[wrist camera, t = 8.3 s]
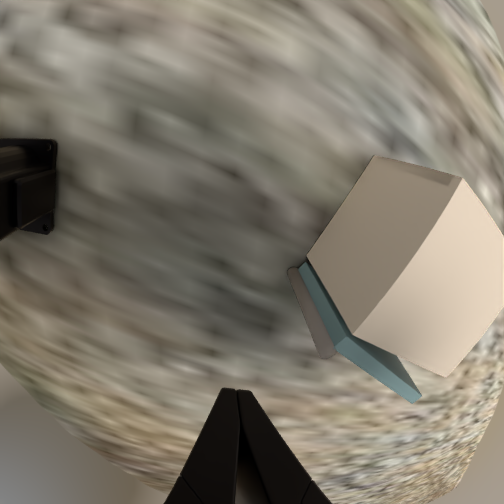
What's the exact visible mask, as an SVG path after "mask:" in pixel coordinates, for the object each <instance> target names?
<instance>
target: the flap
mask: <svg viewBox="0 0 504 504" xmlns="http://www.w3.org/2000/svg"><path fill="white" fill-rule="evenodd" d="M287 274H288V277H289V279H290V282H291V284H292V287H293V289H294V292H295V294H296V297H297V300H298V302H299V305H300V307H301V310H302V312H303V315H304V317H305V320H306V322H307V325H308V328H309V330H310V333H311V335H312V338H313V341H314V343H315V346H316V348H317V351H318V354H319V356H320V357H321V358H322V359H328V358H331V357H332V356H334V355H335V353H336V351H338V352H339V353H340V354H342V355H343V356H345V357H346V358H347V359H349V360H350V361H352V362H353V363H354V364H356V365H357V366H359V367H360V368H361V369H363V370H364V371H366V372H367V373H369V374H370V375H371V376H373V377H374V378H376V379H377V380H379V381H380V382H381V383H383V384H384V385H386V386H387V387H389V388H390V389H391V390H393V391H394V392H396V393H397V394H399V395H400V396H402V397H403V398H405V399H406V400H407V401H409V402H410V403H412V404H413V403H414V402H415V401H417V400H418V399H419V398H420V397H421V396H422V395H421V393H420V392H419V390H418V389H417V387H416V385H415V384H414V382H413V381H412V379H411V377H410V376H409V374H408V373H407V371H406V370H405V368H404V367H403V365H402V363H401V362H400V360H399V359H398V357H397V356H396V355H394V354H392V353H390V352H388V351H386V350H384V349H381V348H379V347H377V346H375V345H373V344H371V343H369V342H367V341H364V340H362V339H360V338H358V337H356V336H354V335H352V333H351V332H350V330H349V328H348V326H347V324H346V323H345V321H344V319H343V317H342V316H341V314H340V312H339V310H338V309H337V307H336V305H335V303H334V302H333V300H332V298H331V296H330V295H329V293H328V291H327V290H326V288H325V286H324V285H323V283H322V281H321V279H320V278H319V276H318V274H317V273H316V271H315V270H314V269H313V268H312V267H311V266H310V265H309V264H307V263H306V262H305V263H304V264H303V265H302V266H301V267H300V268H299V269H298V268H296V267H292V268H290V269H289V270H288V272H287Z"/></svg>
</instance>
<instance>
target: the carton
mask: <svg viewBox="0 0 504 504" xmlns="http://www.w3.org/2000/svg"><path fill="white" fill-rule="evenodd" d="M306 256H307V258H308V259H309V261H310V263H311V264H312V266H313V268H314V269H315V271H316V273H317V274H318V276H319V278H320V279H321V281H322V283H323V285H324V286H325V288H326V290H327V291H328V293H329V295H330V296H331V298H332V300H333V302H334V303H335V305H336V307H337V309H338V310H339V312H340V314H341V316H342V317H343V319H344V321H345V323H346V324H347V326H348V328H349V330H350V332H351V333H352V335H354V336H356V337H358V338H360V339H362V340H364V341H367V342H369V343H371V344H373V345H375V346H377V347H379V348H381V349H384V350H386V351H388V352H390V353H392V354H394V355H396V356H399V357H401V358H403V359H405V360H407V361H410V362H412V363H414V364H416V365H418V366H421V367H423V368H425V369H427V370H429V371H432V372H434V373H436V374H438V375H441V376H443V377H445V378H446V377H447V376H448V375H449V374H450V373H451V372H452V371H453V370H454V369H455V368H456V366H457V365H458V364H459V363H460V362H461V361H462V360H463V359H464V357H465V356H466V355H467V354H468V353H469V352H470V350H471V349H472V348H473V347H474V345H475V344H476V343H477V342H478V340H479V339H480V338H481V337H482V335H483V334H484V333H485V332H486V330H487V329H488V328H489V326H490V325H491V324H492V322H493V321H494V319H495V318H496V317H497V315H498V314H499V312H500V311H501V309H502V308H503V307H504V236H503V234H502V233H501V231H500V230H499V228H498V227H497V225H496V223H495V222H494V220H493V219H492V217H491V216H490V214H489V213H488V211H487V210H486V209H485V207H484V206H483V204H482V203H481V201H480V200H479V199H478V197H477V196H476V195H475V193H474V192H473V191H472V189H471V188H470V187H469V185H468V184H467V183H466V181H465V180H464V179H463V178H461V177H458V176H455V175H451V174H448V173H444V172H441V171H437V170H434V169H430V168H426V167H422V166H418V165H414V164H410V163H406V162H402V161H398V160H393V159H389V158H384V157H380V156H375V155H374V156H373V158H372V159H371V161H370V162H369V164H368V166H367V167H366V169H365V170H364V172H363V173H362V175H361V176H360V178H359V179H358V181H357V182H356V184H355V185H354V187H353V188H352V190H351V191H350V193H349V194H348V196H347V197H346V199H345V200H344V202H343V203H342V205H341V206H340V208H339V209H338V211H337V212H336V214H335V215H334V217H333V218H332V219H331V221H330V222H329V224H328V225H327V227H326V228H325V230H324V231H323V232H322V234H321V235H320V237H319V238H318V240H317V241H316V243H315V244H314V245H313V247H312V248H311V250H310V251H309V252H308V254H307V255H306Z"/></svg>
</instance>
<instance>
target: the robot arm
mask: <svg viewBox="0 0 504 504" xmlns="http://www.w3.org/2000/svg"><path fill="white" fill-rule="evenodd" d="M49 144H50V145H51V149H50V150H49V149H48V146H49ZM56 151H57V143H56V141H55V140H53V139H22V138H7V139H0V241H1V240H2V239H4V238H6V237H7V236H9V235H10V234H12V233H14V232H15V231H17V230H19V229H20V230H25V231H30V232H35V233H40V234H45V235H47V234H49V233H50V232H52V231H53V209H54V204H55V178H56V173H55V162H56ZM45 224H46V225H47V226H48V229H47V228H46V226H45ZM164 504H332V503H331V502H330V500H329V499H328V498H327V497H326V496H325V494H324V493H323V492H322V491H321V490H320V488H319V487H318V486H317V485H316V483H315V482H314V481H313V480H312V478H311V477H310V475H309V474H308V473H307V471H306V470H305V469H304V467H303V466H302V465H301V463H300V462H299V461H298V459H297V458H296V456H295V455H294V454H293V452H292V451H291V450H290V448H289V447H288V445H287V444H286V442H285V441H284V440H283V438H282V437H281V435H280V434H279V432H278V431H277V430H276V428H275V427H274V425H273V424H272V422H271V421H270V419H269V418H268V416H267V415H266V413H265V412H264V410H263V409H262V407H261V406H260V404H259V403H258V401H257V400H256V398H255V397H254V395H253V393H252V392H251V391H249V390H240V389H238V390H235V389H231V388H222V389H221V390H220V392H219V395H218V397H217V399H216V401H215V403H214V405H213V407H212V409H211V412H210V414H209V416H208V418H207V420H206V422H205V424H204V426H203V428H202V430H201V432H200V434H199V437H198V439H197V441H196V443H195V445H194V447H193V449H192V451H191V453H190V455H189V457H188V459H187V461H186V463H185V465H184V467H183V469H182V471H181V473H180V476H179V477H178V479H177V481H176V483H175V485H174V487H173V488H172V490H171V492H170V494H169V495H168V497H167V499H166V501H165V502H164Z"/></svg>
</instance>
